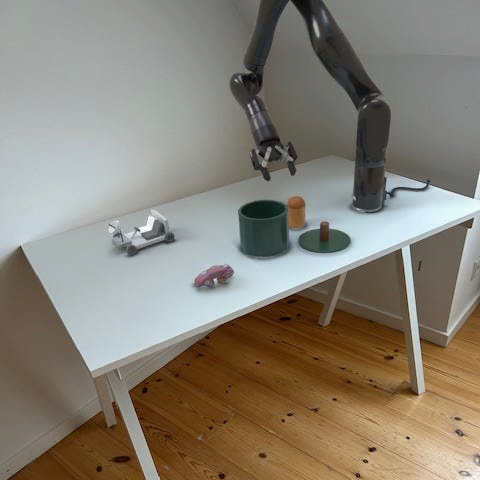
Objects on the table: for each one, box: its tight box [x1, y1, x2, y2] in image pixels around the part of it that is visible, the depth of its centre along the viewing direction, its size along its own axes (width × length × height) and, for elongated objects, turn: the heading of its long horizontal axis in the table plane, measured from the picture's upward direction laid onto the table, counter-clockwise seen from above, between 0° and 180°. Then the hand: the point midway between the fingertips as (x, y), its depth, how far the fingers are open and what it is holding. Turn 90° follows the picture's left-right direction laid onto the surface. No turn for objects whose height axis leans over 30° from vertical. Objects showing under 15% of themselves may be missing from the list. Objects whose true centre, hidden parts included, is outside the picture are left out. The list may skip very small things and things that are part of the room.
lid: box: [297, 220, 351, 254], centre depth 137 cm, size 15×15×6 cm
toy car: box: [108, 208, 175, 256], centre depth 145 cm, size 18×10×12 cm
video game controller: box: [193, 263, 235, 289], centre depth 123 cm, size 10×5×7 cm, turn 118°
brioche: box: [286, 195, 306, 229], centre depth 147 cm, size 5×5×10 cm
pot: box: [237, 199, 290, 258], centre depth 136 cm, size 14×14×12 cm
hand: (281, 177), depth 149 cm, fingers open, 8 cm apart
